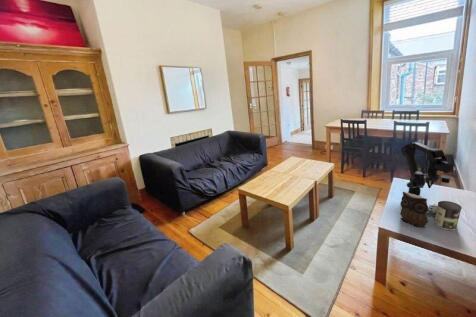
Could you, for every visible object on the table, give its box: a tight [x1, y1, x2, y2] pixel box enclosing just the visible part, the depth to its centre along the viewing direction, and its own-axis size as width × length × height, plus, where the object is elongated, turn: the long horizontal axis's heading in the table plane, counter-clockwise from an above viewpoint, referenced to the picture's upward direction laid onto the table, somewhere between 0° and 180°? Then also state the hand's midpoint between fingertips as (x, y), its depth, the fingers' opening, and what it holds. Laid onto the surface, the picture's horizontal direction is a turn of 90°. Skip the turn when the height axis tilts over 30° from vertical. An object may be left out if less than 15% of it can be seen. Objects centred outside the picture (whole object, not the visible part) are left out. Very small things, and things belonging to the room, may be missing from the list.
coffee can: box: [433, 200, 462, 231], centre depth 134 cm, size 10×10×14 cm
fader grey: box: [432, 203, 438, 212], centre depth 146 cm, size 3×2×4 cm
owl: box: [399, 191, 429, 229], centre depth 139 cm, size 13×13×20 cm
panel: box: [426, 204, 436, 218], centre depth 146 cm, size 12×12×3 cm
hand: (429, 188), depth 155 cm, fingers closed
